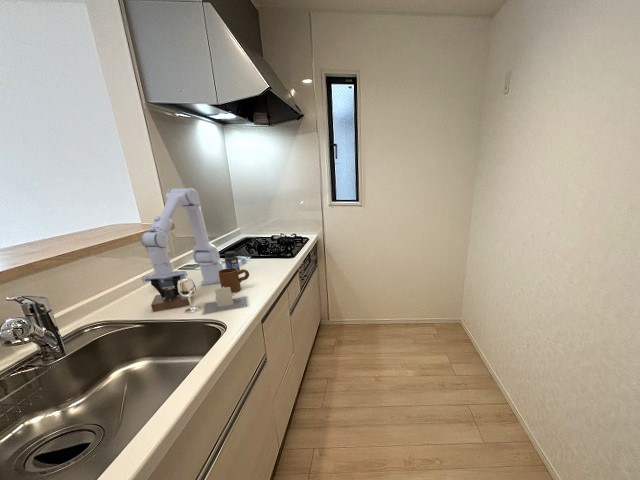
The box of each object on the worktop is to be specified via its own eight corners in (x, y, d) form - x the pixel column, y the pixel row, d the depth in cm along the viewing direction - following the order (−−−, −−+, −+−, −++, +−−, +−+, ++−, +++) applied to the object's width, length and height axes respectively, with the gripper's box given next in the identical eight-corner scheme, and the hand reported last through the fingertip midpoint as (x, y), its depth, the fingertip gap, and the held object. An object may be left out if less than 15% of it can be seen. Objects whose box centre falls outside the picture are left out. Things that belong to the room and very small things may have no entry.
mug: (252, 285, 145) (248, 266, 142) (251, 290, 138) (247, 270, 135) (223, 289, 141) (219, 269, 138) (221, 294, 134) (216, 274, 131)
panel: (191, 296, 133) (189, 289, 132) (189, 305, 124) (187, 298, 123) (157, 302, 128) (155, 294, 127) (153, 311, 119) (150, 304, 118)
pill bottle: (235, 274, 160) (231, 253, 156) (224, 274, 161) (220, 253, 157) (242, 271, 166) (238, 250, 162) (232, 270, 167) (228, 250, 163)
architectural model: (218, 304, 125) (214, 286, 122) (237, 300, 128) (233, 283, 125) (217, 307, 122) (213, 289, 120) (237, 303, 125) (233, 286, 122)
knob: (177, 294, 128) (175, 285, 126) (176, 297, 124) (173, 288, 123) (165, 296, 126) (163, 287, 124) (164, 299, 123) (161, 290, 121)
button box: (185, 278, 156) (183, 270, 155) (184, 284, 148) (181, 276, 146) (161, 281, 152) (159, 274, 150) (158, 288, 143) (156, 280, 142)
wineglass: (188, 307, 123) (180, 278, 118) (203, 306, 123) (196, 277, 119) (180, 313, 117) (172, 283, 113) (196, 312, 118) (188, 282, 113)
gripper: (136, 268, 114) (147, 302, 118) (182, 263, 120) (191, 295, 125) (139, 263, 119) (150, 296, 124) (183, 258, 126) (192, 290, 130)
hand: (170, 295), depth 125 cm, fingers open, 4 cm apart
